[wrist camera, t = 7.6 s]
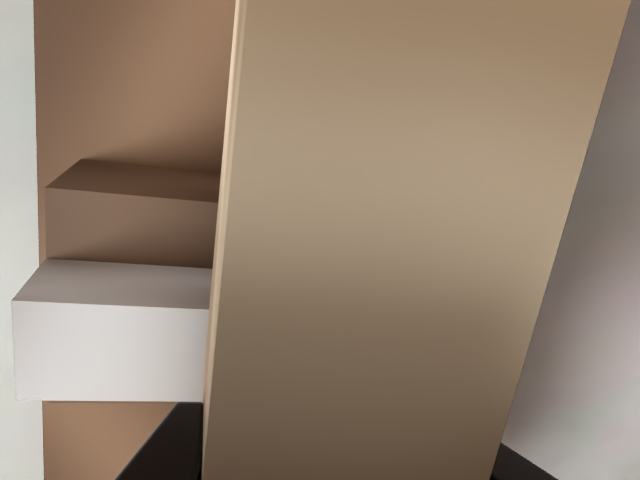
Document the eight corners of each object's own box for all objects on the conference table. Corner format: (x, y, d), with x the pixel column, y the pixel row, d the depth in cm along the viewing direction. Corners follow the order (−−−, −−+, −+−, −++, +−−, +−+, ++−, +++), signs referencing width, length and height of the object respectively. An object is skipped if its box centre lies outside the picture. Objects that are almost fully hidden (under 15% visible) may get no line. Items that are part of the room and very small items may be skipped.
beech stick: (275, -450, 6) (342, -1036, 3) (545, -353, 7) (846, -723, 4) (168, 776, 13) (152, 1023, 9) (310, 756, 13) (341, 980, 10)
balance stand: (509, -36, 15) (706, -95, 9) (393, 476, 21) (467, 652, 15) (50, -132, 12) (-105, -307, 6) (58, 484, 18) (-22, 703, 12)
